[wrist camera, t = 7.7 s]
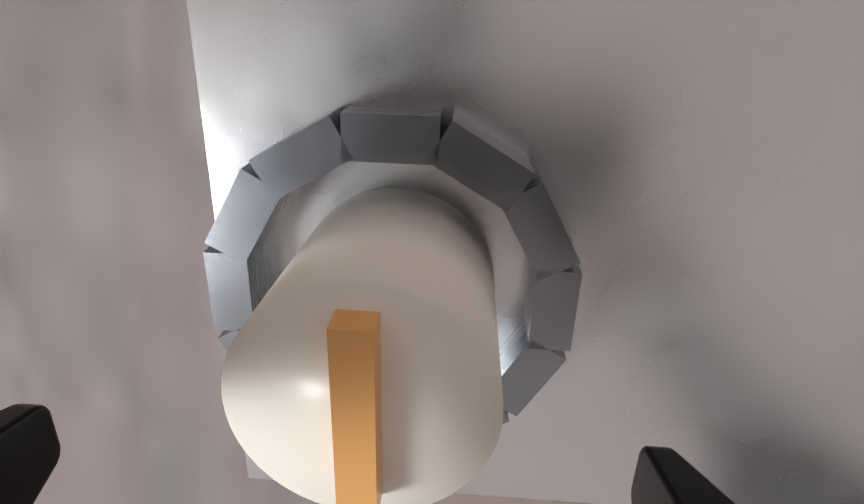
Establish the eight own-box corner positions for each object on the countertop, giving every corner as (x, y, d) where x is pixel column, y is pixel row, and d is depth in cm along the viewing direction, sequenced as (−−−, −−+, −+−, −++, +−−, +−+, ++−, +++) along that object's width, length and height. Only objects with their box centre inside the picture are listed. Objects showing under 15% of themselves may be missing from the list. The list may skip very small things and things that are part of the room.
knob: (486, 365, 15) (494, 551, 10) (309, 354, 15) (224, 530, 10) (500, 192, 13) (518, 309, 8) (297, 183, 13) (184, 290, 8)
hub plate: (1038, -7, 12) (1171, -12, 10) (831, 490, 17) (884, 559, 15) (207, -32, 13) (150, -43, 10) (261, 449, 18) (232, 510, 16)
